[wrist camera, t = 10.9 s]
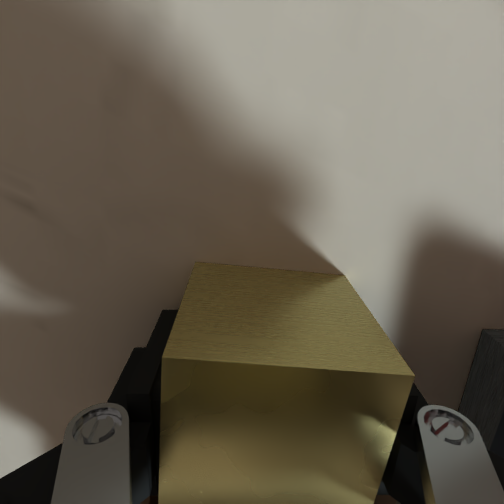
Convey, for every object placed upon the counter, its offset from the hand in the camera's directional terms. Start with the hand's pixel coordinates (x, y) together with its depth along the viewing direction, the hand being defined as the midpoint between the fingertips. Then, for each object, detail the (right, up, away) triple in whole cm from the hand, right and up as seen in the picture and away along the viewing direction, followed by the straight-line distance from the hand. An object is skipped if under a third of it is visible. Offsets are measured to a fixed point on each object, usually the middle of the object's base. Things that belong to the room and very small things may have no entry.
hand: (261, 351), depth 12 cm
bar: (0, -3, +2) cm, 3 cm away
